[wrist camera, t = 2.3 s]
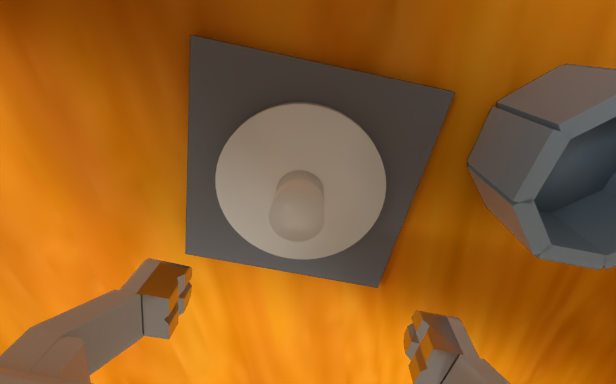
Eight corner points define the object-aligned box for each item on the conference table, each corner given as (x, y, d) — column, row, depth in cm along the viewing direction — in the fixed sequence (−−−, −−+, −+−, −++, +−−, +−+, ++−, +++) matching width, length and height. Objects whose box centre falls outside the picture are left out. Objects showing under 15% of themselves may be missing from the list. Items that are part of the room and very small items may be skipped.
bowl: (448, 201, 20) (486, 248, 15) (516, 52, 16) (593, 58, 11) (577, 226, 20) (649, 279, 16) (674, 88, 16) (806, 107, 12)
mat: (188, 248, 22) (185, 253, 22) (194, 35, 16) (190, 35, 16) (376, 282, 23) (377, 287, 23) (450, 90, 17) (455, 92, 16)
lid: (216, 236, 21) (194, 277, 18) (225, 85, 17) (199, 98, 13) (358, 261, 22) (366, 305, 18) (405, 121, 17) (428, 143, 14)
